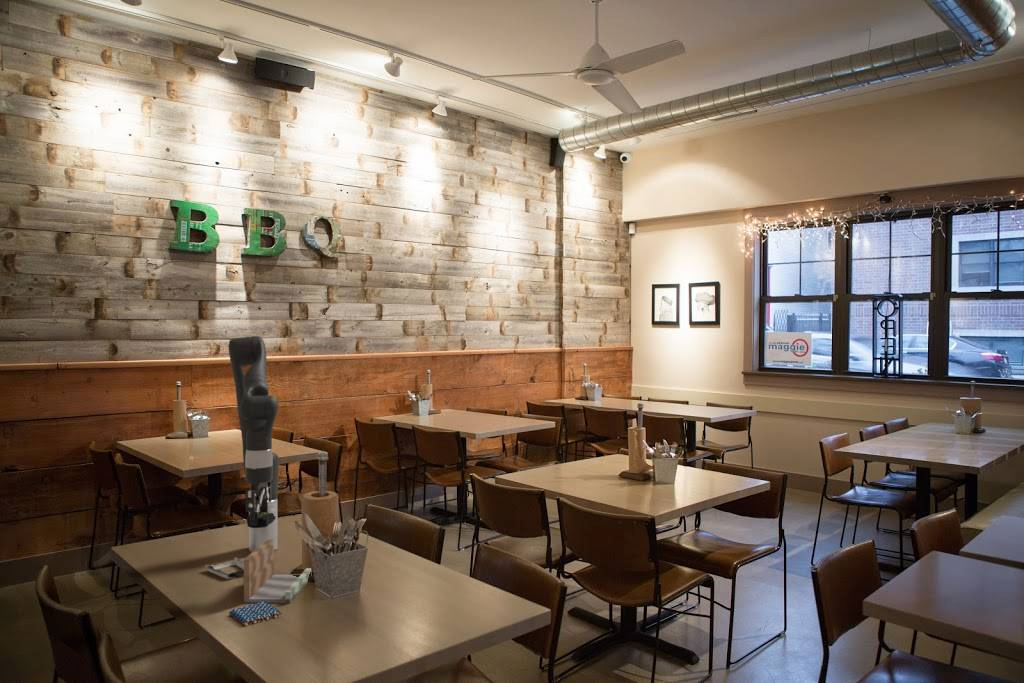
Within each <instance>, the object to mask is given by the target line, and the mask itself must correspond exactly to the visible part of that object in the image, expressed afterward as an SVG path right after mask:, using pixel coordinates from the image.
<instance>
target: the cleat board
mask: <svg viewBox="0 0 1024 683" xmlns="http://www.w3.org/2000/svg"><path fill="white" fill-rule="evenodd" d="M274 551H275V550H274V539H268V540H266V541H265V542H264V543H263V544H262V545H260V546H259V547H258V548H257V549H256V550H254V551H253V552H250V553H249V555H247V556H246V557H245V558H244V559H243V562H244V576H243V603H244V604H245V603H246V604H247V603H250V604H251V603H253V604H257V603H260V602H264V601H266V603H269V604H291V603H292V602H293V601H294V600H295V599H296V597H297V596H298V595H299V594H300V593H301V591H302V590H303V589H304V588H305V587H306V586H307V584H308V583H309V582H308V578H309V574H310V572H311V573H312V568H311V567H307V568H305V569H304V570H303V571H302V573H300V574H299V575H300V576H299V577H296V576H293V575H294V574H275V573H274V570H275V568H274V566H275V564H274V563H275V562H274V561H275V558H274V557H275V556H274Z"/></svg>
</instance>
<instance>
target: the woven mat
mask: <svg viewBox="0 0 1024 683" xmlns="http://www.w3.org/2000/svg"><path fill="white" fill-rule="evenodd" d="M228 614H229V616H230V617H231V618H233V619H234V620H236V621H237V622H239V623H240V624H242V626H243V627H248V626H249V625H250V626H251V625H253V624H257V623H261V622H263V623H264V622H266V621H269V620H273V619H277V618H278V617H281V615H282V612H281V611H280V610H279V609H278V608H276V607H274V605H273V606H272V604H271V603H266V601H264V602H260V603H253V604H249V605H246V606H245V605H244V606H242V607H238V608H233V609H232V610H230V611H229V613H228Z"/></svg>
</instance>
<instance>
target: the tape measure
mask: <svg viewBox="0 0 1024 683" xmlns="http://www.w3.org/2000/svg"><path fill="white" fill-rule="evenodd" d="M275 517H276V516H274V514H273V513H265V512H258V525H250V514H249V513H248V516H247V517H246V524H247V527H248V528H249V527H251V528H262V527H263V528H265V527H267V526H268V525H269V524H271V523H272V522H273V521H274V520H275Z"/></svg>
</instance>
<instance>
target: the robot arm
mask: <svg viewBox="0 0 1024 683" xmlns="http://www.w3.org/2000/svg"><path fill="white" fill-rule="evenodd" d="M266 349H267V348H266V344H265V341H264V338H262V336H259V335H254V336H253V335H252V336H245V337H236V338H231V339H230V340H229V343H228V354H229V360H230V366H231V370H232V376H233V382H234V386H235V395H236V405H237V406H236V409H237V413H238V420H239V428H240V433H241V442H242V456H243V457H242V460H243V471H244V476H245V477H244V479H245V482H246V483H250V488H249V490H245V492H244V495H245V498H244V499H245V500H244V501H245V512H248V515H249V514H250V525H258V512H265V513H273V514H274V516H276V517H275V520H274V521H273V522H272V523H271V524H269V525H268V526H267V527H265V528H263V527H262V528H251V527H249V526H248V551H249V552H250V553H252V552H253V551H254V550H256V549H257V548H258V547H259V546H260V545H262V544H263V543H264V542H265V541H266V540H268V539H274V551H276V550H277V549H278V492H279V471H280V470H279V469H280V468H279V467H280V460H279V456H278V454H277V453H276V452H273V449H272V448H273V445H272V443H273V442H272V441H273V440H272V438H273V429H274V424H275V421H276V417H277V414H278V410H279V401H278V399H277V398H276V396H274V395H270V394H269V392H270V391H269V385H268V380H267V366H268V365H267V350H266ZM245 366H246V367H247V366H250V367H249V368H248V369H247V370H246V372H245V371H244V369H243V367H245Z"/></svg>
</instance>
